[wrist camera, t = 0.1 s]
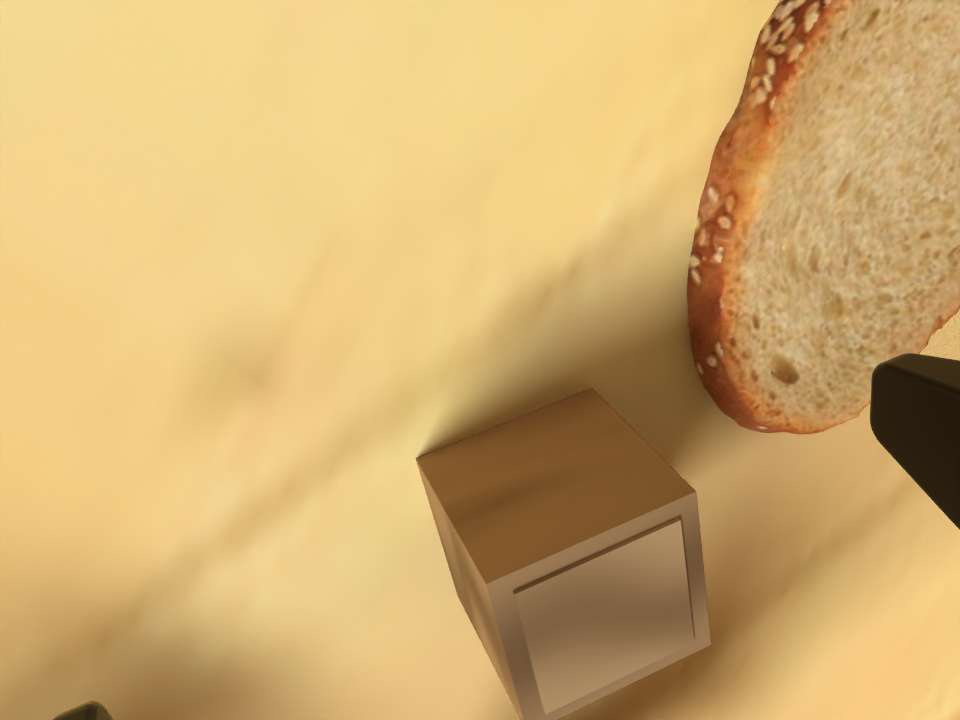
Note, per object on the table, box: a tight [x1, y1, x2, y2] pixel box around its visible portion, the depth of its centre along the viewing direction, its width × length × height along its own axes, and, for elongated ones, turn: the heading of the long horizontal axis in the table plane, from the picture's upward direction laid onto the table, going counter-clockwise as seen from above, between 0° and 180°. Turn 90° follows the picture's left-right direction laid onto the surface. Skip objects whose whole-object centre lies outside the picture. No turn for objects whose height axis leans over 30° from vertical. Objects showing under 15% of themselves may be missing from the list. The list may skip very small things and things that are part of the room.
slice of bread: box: [687, 0, 960, 434], centre depth 26 cm, size 18×18×4 cm
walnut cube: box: [416, 388, 711, 720], centre depth 26 cm, size 6×6×6 cm
